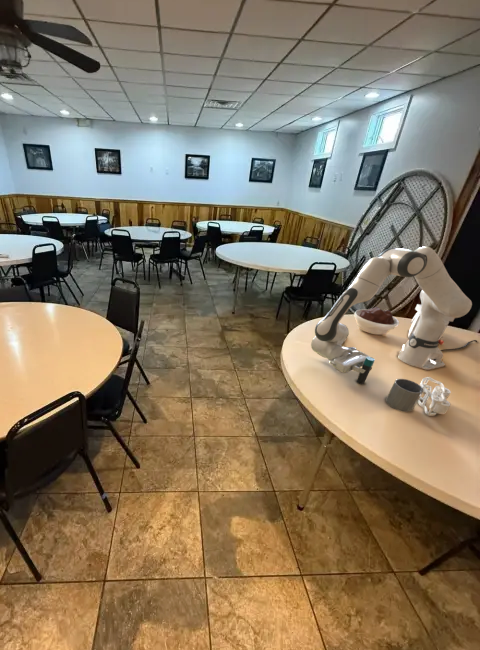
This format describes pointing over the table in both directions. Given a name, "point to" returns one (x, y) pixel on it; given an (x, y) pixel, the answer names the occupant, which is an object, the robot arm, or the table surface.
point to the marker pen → (367, 365)
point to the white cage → (435, 397)
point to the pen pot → (404, 395)
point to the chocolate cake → (375, 320)
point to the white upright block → (417, 316)
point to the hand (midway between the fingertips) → (367, 370)
